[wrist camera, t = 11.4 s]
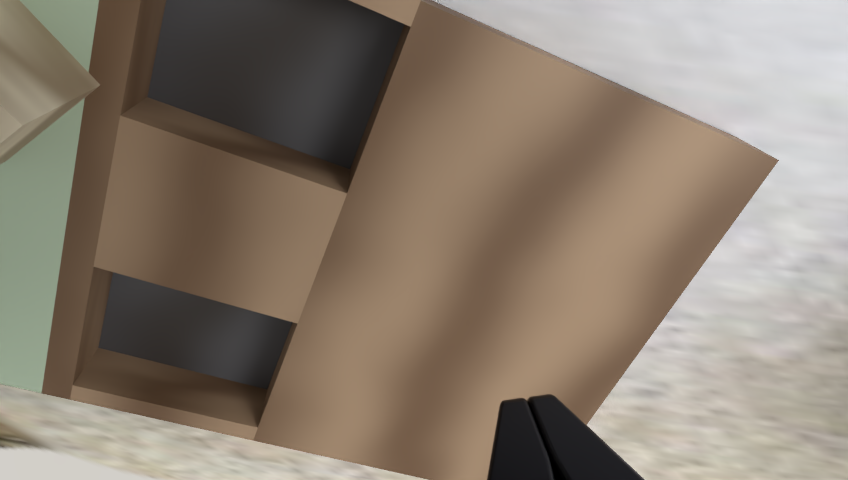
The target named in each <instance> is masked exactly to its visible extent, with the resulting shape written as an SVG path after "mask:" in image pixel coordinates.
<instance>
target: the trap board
mask: <svg viewBox="0 0 848 480" xmlns="http://www.w3.org/2000/svg"><path fill="white" fill-rule="evenodd" d="M89 73H90V75H91V76H92V77H93V78H94V79H95V80H96V81H97V82H98V83H99V84H100V86H99V87H97V88H96V89H95V90H94V91H92V92H91V93H90V94H89V95H88V96H86V97H85V100H84V107H83V113H82V120H81V127H80V134H79V141H78V147H77V154H76V161H75V168H74V175H73V182H72V188H71V195H70V202H69V209H68V216H67V222H66V229H65V236H64V243H63V250H62V257H61V263H60V270H59V277H58V284H57V291H56V297H55V304H54V311H53V318H52V325H51V332H50V338H49V345H48V352H47V359H46V366H45V372H44V379H43V386H42V393H43V394H48V395H52V396H57V397H61V398H66V399H70V400H74V401H79V402H83V403H88V404H92V405H97V406H101V407H106V408H110V409H115V410H119V411H124V412H128V413H133V414H137V415H142V416H146V417H151V418H155V419H160V420H164V421H169V422H173V423H178V424H182V425H187V426H191V427H196V428H200V429H204V430H209V431H213V432H218V433H222V434H227V435H231V436H236V437H240V438H245V439H249V440H254V441H258V442H263V443H267V444H272V445H276V446H281V447H285V448H290V449H294V450H299V451H303V452H308V453H312V454H317V455H321V456H326V457H330V458H334V459H339V460H343V461H348V462H352V463H357V464H361V465H366V466H370V467H375V468H379V469H384V470H388V471H393V472H397V473H402V474H406V475H411V476H415V477H420V478H424V479H429V480H487V476H488V470H489V464H490V459H491V453H492V447H493V441H494V435H495V430H496V424H497V418H498V412H499V406H500V403H501V402H502V401H503V400H509V399H517V398H525V399H526V400H527V399H528V398H529V397H531V396H539V395H546V394H552V395H554V396H556V397H557V398H558V399H559V400H560V401H561V402H562V403H563V404H564V405H565V406H566V407H567V408H569V409H570V410H571V411H572V412H573V413H574V414H575V415H576V416H577V417H578V418H579V419H580V420H581V421H582V422H583V423H585V424H586V425H587V423H588V422H589V421H590V419H591V418H592V416H593V415H594V414H595V412H596V411H597V410H598V408H599V407H600V405H601V404H602V403H603V401H604V400H605V399H606V397H607V396H608V394H609V393H610V392H611V390H612V389H613V388H614V386H615V385H616V383H617V382H618V381H619V379H620V378H621V377H622V375H623V374H624V372H625V371H626V370H627V368H628V367H629V366H630V364H631V363H632V361H633V360H634V359H635V357H636V356H637V354H638V353H639V352H640V350H641V349H642V348H643V346H644V345H645V343H646V342H647V341H648V339H649V338H650V337H651V335H652V334H653V332H654V331H655V330H656V328H657V327H658V326H659V324H660V323H661V321H662V320H663V319H664V317H665V316H666V315H667V313H668V312H669V310H670V309H671V308H672V306H673V305H674V304H675V302H676V301H677V299H678V298H679V297H680V295H681V294H682V293H683V291H684V290H685V288H686V287H687V286H688V284H689V283H690V282H691V280H692V279H693V277H694V276H695V275H696V273H697V272H698V271H699V269H700V268H701V266H702V265H703V264H704V262H705V261H706V260H707V258H708V257H709V255H710V254H711V253H712V251H713V250H714V249H715V247H716V246H717V244H718V243H719V242H720V240H721V239H722V238H723V236H724V235H725V233H726V232H727V231H728V229H729V228H730V227H731V225H732V224H733V222H734V221H735V220H736V218H737V217H738V216H739V214H740V213H741V211H742V210H743V209H744V207H745V206H746V205H747V203H748V202H749V200H750V199H751V198H752V196H753V195H754V194H755V192H756V191H757V189H758V188H759V187H760V185H761V184H762V183H763V181H764V180H765V178H766V177H767V176H768V174H769V173H770V172H771V170H772V169H773V167H774V166H775V165H776V163H777V162H778V161H779V160H777V159H775V158H774V157H772V156H770V155H768V154H766V153H764V152H763V151H761V150H759V149H757V148H755V147H753V146H752V145H750V144H748V143H746V142H744V141H742V140H740V139H739V138H737V137H735V136H732V135H730V134H728V133H726V132H724V131H721V130H719V129H717V128H715V127H712V126H710V125H708V124H706V123H703V122H701V121H699V120H697V119H695V118H692V117H690V116H688V115H686V114H683V113H681V112H679V111H677V110H675V109H672V108H670V107H668V106H666V105H663V104H661V103H659V102H657V101H654V100H652V99H650V98H648V97H646V96H643V95H641V94H639V93H637V92H634V91H632V90H630V89H628V88H626V87H623V86H621V85H619V84H617V83H614V82H612V81H610V80H608V79H605V78H603V77H601V76H599V75H597V74H594V73H592V72H590V71H588V70H585V69H583V68H581V67H579V66H577V65H574V64H572V63H570V62H568V61H565V60H563V59H561V58H559V57H556V56H554V55H552V54H550V53H548V52H545V51H543V50H541V49H539V48H536V47H534V46H532V45H530V44H528V43H525V42H523V41H521V40H519V39H516V38H514V37H512V36H510V35H508V34H505V33H503V32H501V31H499V30H496V29H494V28H492V27H490V26H487V25H485V24H483V23H481V22H479V21H476V20H474V19H472V18H470V17H467V16H465V15H463V14H461V13H459V12H456V11H454V10H452V9H450V8H447V7H445V6H443V5H441V4H438V3H436V2H434V1H432V0H99V4H98V11H97V18H96V25H95V32H94V38H93V45H92V52H91V59H90V66H89Z"/></svg>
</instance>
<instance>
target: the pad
mask: <svg viewBox="0 0 848 480" xmlns="http://www.w3.org/2000/svg"><path fill="white" fill-rule="evenodd" d="M20 1H21V2H22V3H23V5H24V6H25V7H26V8H27V9H28V10H29V11H30V12H31V13H32V14H33V15H34V16H35V17H36V18H37V19H38V20H39V21H40V22H41V23H42V24H43V25H44V26H45V27H46V29H47V30H48V31H49V32H50V33H51V34H52V35H53V36H54V37H55V38H56V39H57V40H58V41H59V42H60V43H61V44H62V45H63V46H64V47H65V48H66V49H67V50H68V52H69V53H70V54H71V55H72V56H73V57H74V58H75V59H76V60H77V61H78V62H79V63H80V64H81V65H82V66H83V67H84V68H85V69H86V70H87V71H88V72H89V66H90V59H91V52H92V45H93V38H94V32H95V25H96V18H97V11H98V4H99V0H20ZM84 100H85V98H84V99H83V100H81V101H80V102H79V103H78V104H76V105H75V106H74V107H73V108H71V109H70V110H69V111H68V112H66V113H65V114H64V115H63V116H61V117H60V118H59V119H58V120H56V121H55V122H54V123H53V124H52V125H50V126H49V127H48V128H47V129H45V130H44V131H43V132H42V133H40V134H39V135H38V136H37V137H35V138H34V139H33V140H32V141H30V142H29V143H28V144H27V145H25V146H24V147H23V148H22V149H21V150H19V151H18V152H17V153H16V154H14V155H13V156H12V157H11V158H9V159H8V160H7V161H6V162H4V163H2V164H0V384H3V385H7V386H12V387H16V388H21V389H25V390H29V391H34V392H38V393H42V386H43V379H44V372H45V366H46V359H47V352H48V345H49V338H50V332H51V325H52V318H53V311H54V304H55V297H56V291H57V284H58V277H59V270H60V263H61V257H62V250H63V243H64V236H65V229H66V222H67V216H68V209H69V202H70V195H71V188H72V182H73V175H74V168H75V161H76V154H77V147H78V141H79V134H80V127H81V120H82V113H83V107H84Z"/></svg>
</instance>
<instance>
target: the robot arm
mask: <svg viewBox="0 0 848 480" xmlns="http://www.w3.org/2000/svg"><path fill="white" fill-rule="evenodd" d="M487 480H644V479H643V478H642V477H641V476H640V475H639V474H638V473H637V472H636V471H635V470H634V469H633V468H632V467H630V466H629V465H628V464H627V463H626V462H625V461H624V460H623V459H622V458H621V457H620V456H619V455H618V454H617V453H616V452H614V451H613V450H612V449H611V448H610V447H609V446H608V445H607V444H606V443H605V442H604V441H603V440H602V439H601V438H599V437H598V436H597V435H596V434H595V433H594V432H593V431H592V430H591V429H590V428H589V427H588V426H587V425H586V424H585V423H583V422H582V421H581V420H580V419H579V418H578V417H577V416H576V415H575V414H574V413H573V412H572V411H571V410H570V409H569V408H567V407H566V406H565V405H564V404H563V403H562V402H561V401H560V400H559V399H558V398H557V397H556V396H554V395H552V394H546V395H539V396H531V397H529V398H528V399H527V400H526V399H525V398H517V399H509V400H503V401H502V402H501V403H500V406H499V412H498V418H497V424H496V430H495V435H494V441H493V447H492V453H491V459H490V464H489V470H488V476H487Z"/></svg>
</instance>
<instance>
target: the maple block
mask: <svg viewBox="0 0 848 480" xmlns="http://www.w3.org/2000/svg"><path fill="white" fill-rule="evenodd" d="M99 86H100V84H99V83H98V82H97V81H96V80H95V79H94V78H93V77H92V76H91V75H90V73H89V72H88V71H87V70H86V69H85V68H84V67H83V66H82V65H81V64H80V63H79V62H78V61H77V60H76V59H75V58H74V57H73V56H72V55H71V54H70V53H69V52H68V50H67V49H66V48H65V47H64V46H63V45H62V44H61V43H60V42H59V41H58V40H57V39H56V38H55V37H54V36H53V35H52V34H51V33H50V32H49V31H48V30H47V29H46V27H45V26H44V25H43V24H42V23H41V22H40V21H39V20H38V19H37V18H36V17H35V16H34V15H33V14H32V13H31V12H30V11H29V10H28V9H27V8H26V7H25V6H24V5H23V3H22V2H21V1H20V0H0V164H2V163H4V162H6V161H7V160H8V159H9V158H11V157H12V156H13V155H14V154H16V153H17V152H18V151H19V150H21V149H22V148H23V147H24V146H25V145H27V144H28V143H29V142H30V141H32V140H33V139H34V138H35V137H37V136H38V135H39V134H40V133H42V132H43V131H44V130H45V129H47V128H48V127H49V126H50V125H52V124H53V123H54V122H55V121H56V120H58V119H59V118H60V117H61V116H63V115H64V114H65V113H66V112H68V111H69V110H70V109H71V108H73V107H74V106H75V105H76V104H78V103H79V102H80V101H81V100H83V99H84V98H85V97H86V96H88V95H89V94H90V93H91V92H92V91H94V90H95V89H96V88H97V87H99Z"/></svg>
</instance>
